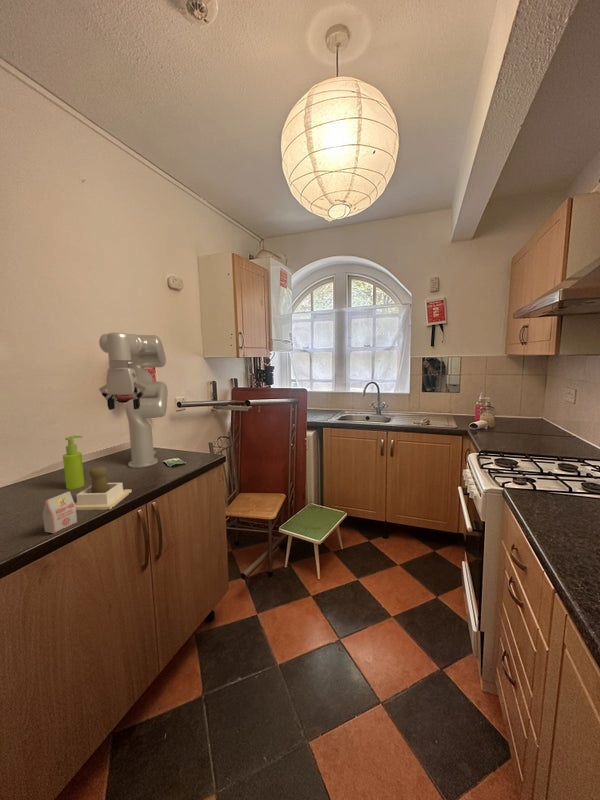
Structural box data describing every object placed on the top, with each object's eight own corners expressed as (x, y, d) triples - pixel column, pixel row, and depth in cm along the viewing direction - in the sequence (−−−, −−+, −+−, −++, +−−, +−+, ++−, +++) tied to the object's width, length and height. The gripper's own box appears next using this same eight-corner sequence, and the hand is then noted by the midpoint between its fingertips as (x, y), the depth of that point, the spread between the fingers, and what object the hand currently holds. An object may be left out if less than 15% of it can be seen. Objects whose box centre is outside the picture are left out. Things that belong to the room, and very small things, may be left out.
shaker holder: (93, 492, 117) (92, 481, 117) (131, 491, 118) (130, 480, 117) (67, 510, 104) (66, 497, 103) (110, 509, 104) (108, 496, 103)
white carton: (45, 532, 90) (40, 499, 89) (68, 521, 97) (65, 490, 95) (53, 534, 89) (50, 501, 88) (77, 523, 95) (73, 491, 94)
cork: (101, 502, 107) (98, 471, 106) (86, 500, 108) (83, 470, 107) (114, 494, 113) (112, 465, 112) (100, 493, 114) (97, 464, 113)
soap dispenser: (90, 484, 126) (85, 435, 123) (72, 490, 120) (66, 439, 117) (81, 481, 128) (76, 434, 126) (63, 488, 122) (57, 438, 120)
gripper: (147, 365, 125) (150, 407, 127) (103, 365, 124) (107, 408, 126) (138, 365, 117) (141, 410, 119) (91, 365, 117) (96, 411, 119)
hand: (124, 409), depth 123 cm, fingers open, 9 cm apart
